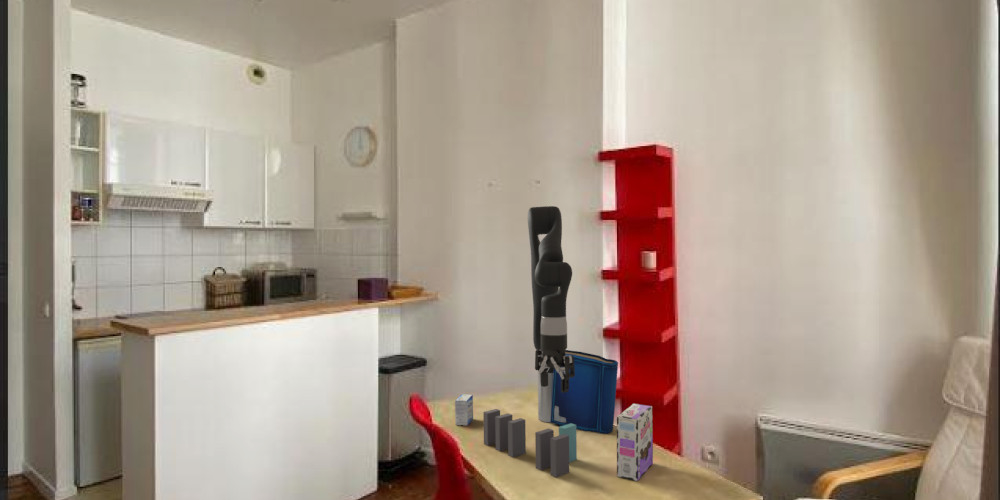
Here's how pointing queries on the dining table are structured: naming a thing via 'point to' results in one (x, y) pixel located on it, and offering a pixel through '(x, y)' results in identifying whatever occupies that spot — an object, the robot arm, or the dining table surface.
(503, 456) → the dining table surface
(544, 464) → the domino
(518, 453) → the domino
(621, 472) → the candy box
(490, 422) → the domino
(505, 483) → the dining table surface
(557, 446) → the domino
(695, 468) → the dining table surface
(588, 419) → the book
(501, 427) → the domino
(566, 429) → the domino
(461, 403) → the medicine box
